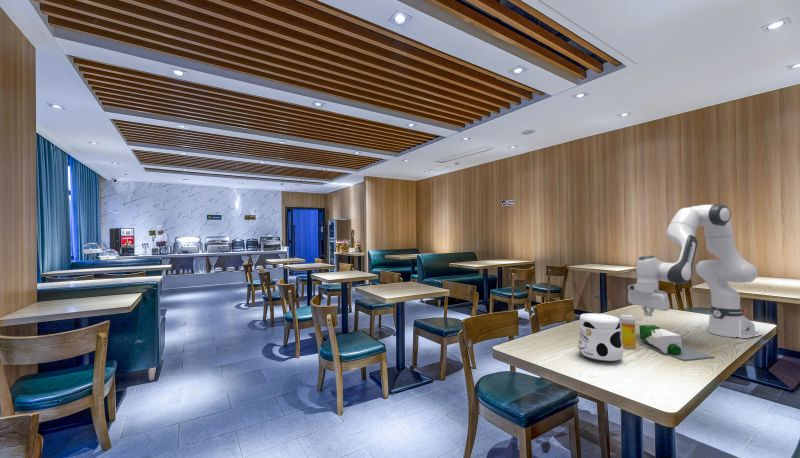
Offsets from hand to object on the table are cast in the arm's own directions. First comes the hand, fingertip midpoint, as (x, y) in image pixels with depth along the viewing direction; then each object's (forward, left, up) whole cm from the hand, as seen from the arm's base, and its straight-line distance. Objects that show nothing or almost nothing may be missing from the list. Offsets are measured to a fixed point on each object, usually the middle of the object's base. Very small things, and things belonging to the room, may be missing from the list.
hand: (648, 315), depth 171 cm
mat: (0, +13, -13) cm, 19 cm away
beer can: (+16, +4, -13) cm, 21 cm away
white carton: (+1, 0, -8) cm, 8 cm away
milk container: (+39, +13, -13) cm, 43 cm away
